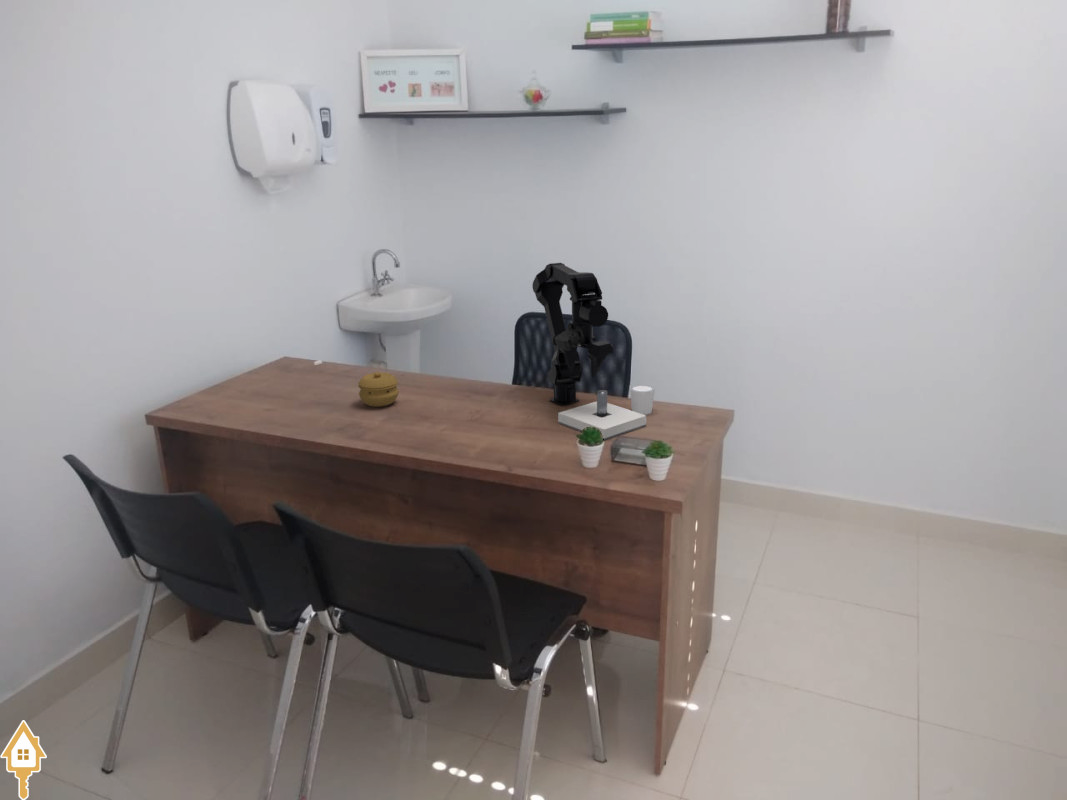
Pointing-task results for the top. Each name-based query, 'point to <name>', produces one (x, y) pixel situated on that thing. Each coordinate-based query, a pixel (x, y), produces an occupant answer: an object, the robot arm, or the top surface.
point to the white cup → (642, 399)
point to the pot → (378, 389)
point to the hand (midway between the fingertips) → (582, 373)
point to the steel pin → (602, 403)
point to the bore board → (602, 419)
